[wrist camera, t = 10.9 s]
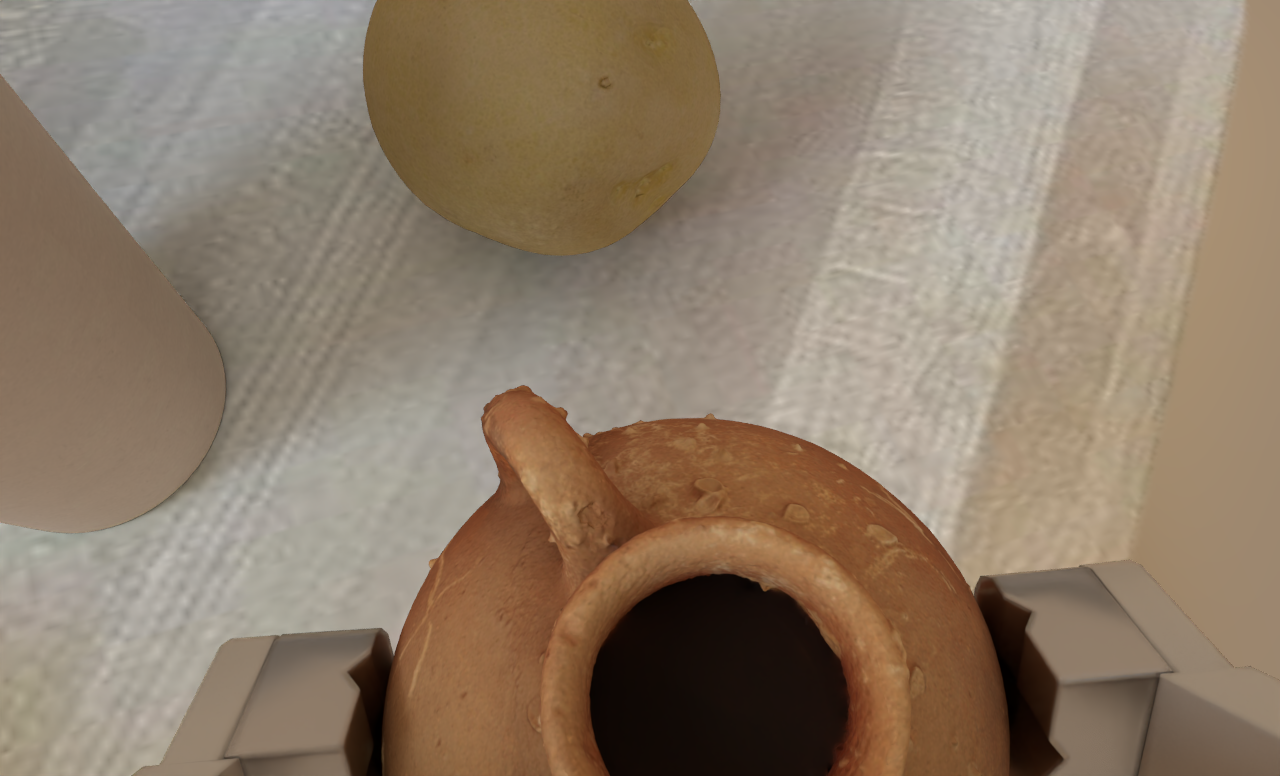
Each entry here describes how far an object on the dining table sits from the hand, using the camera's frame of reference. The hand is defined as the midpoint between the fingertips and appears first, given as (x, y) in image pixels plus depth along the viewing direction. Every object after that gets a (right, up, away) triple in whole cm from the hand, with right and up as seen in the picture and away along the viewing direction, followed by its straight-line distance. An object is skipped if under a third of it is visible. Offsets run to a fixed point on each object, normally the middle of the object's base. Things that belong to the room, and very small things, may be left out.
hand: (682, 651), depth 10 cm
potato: (-3, +8, +17) cm, 19 cm away
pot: (0, -2, +4) cm, 5 cm away
